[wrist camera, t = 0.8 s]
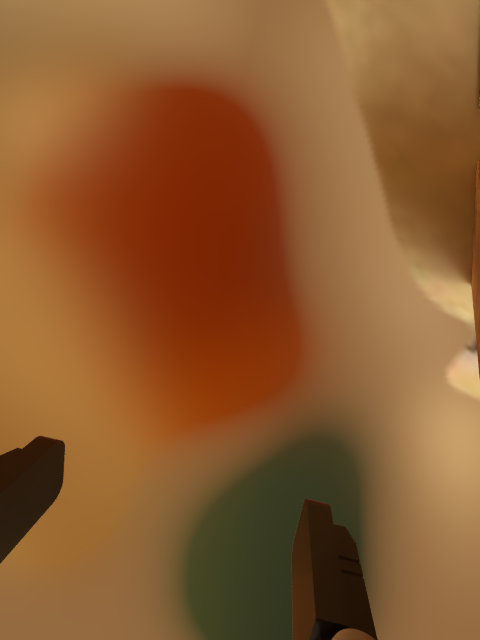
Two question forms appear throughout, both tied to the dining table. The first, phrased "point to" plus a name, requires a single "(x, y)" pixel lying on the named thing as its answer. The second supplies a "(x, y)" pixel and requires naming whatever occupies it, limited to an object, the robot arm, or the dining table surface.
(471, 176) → the dining table surface
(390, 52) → the dining table surface
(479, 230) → the walnut tower
